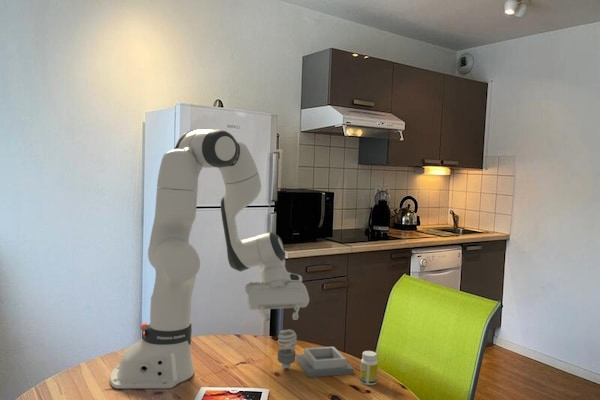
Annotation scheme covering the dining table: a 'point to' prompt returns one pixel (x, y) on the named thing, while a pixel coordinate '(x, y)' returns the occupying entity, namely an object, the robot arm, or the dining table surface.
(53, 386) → the dining table surface
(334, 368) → the bulb socket
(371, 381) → the supplement bottle
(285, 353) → the light bulb
